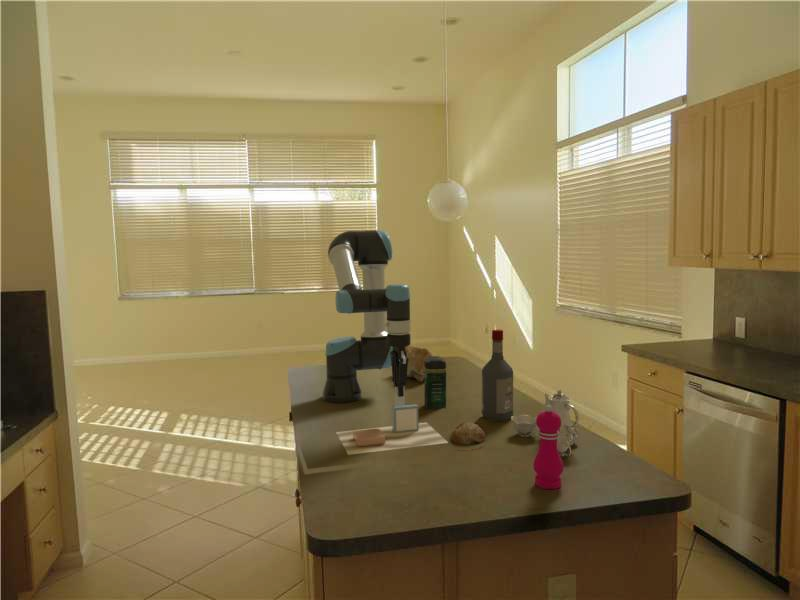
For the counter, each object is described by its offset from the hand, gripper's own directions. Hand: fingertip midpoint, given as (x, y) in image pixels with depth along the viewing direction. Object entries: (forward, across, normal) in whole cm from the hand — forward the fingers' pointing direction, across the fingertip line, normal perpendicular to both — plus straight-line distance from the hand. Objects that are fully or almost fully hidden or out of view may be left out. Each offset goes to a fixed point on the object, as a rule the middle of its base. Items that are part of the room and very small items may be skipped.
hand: (399, 405), depth 184 cm
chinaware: (+8, +27, +39) cm, 48 cm away
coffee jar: (+8, -19, +19) cm, 28 cm away
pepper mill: (+8, +52, +23) cm, 57 cm away
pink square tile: (+5, +7, -13) cm, 16 cm away
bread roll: (+8, +18, +16) cm, 25 cm away
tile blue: (+7, +6, 0) cm, 9 cm away
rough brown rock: (+8, -63, +29) cm, 70 cm away
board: (+8, +10, -6) cm, 14 cm away
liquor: (+8, -1, +35) cm, 36 cm away
